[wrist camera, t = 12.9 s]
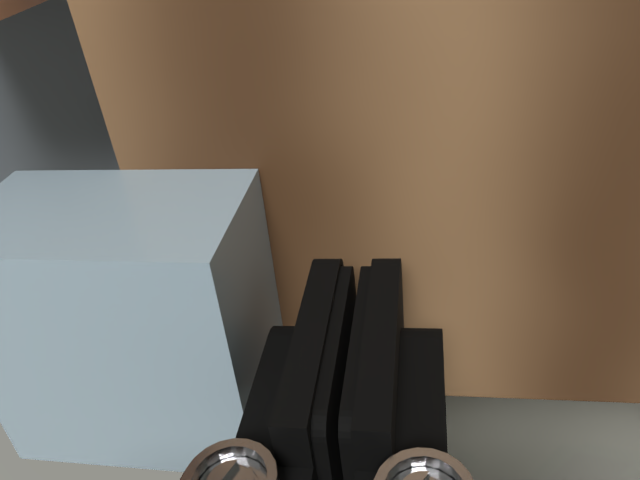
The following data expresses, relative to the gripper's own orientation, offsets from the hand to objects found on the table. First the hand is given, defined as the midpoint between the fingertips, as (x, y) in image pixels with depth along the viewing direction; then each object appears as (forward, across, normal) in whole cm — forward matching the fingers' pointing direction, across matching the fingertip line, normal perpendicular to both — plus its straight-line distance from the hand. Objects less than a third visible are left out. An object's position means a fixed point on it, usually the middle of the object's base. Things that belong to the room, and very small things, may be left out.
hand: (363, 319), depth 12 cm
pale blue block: (+1, +4, 0) cm, 5 cm away
